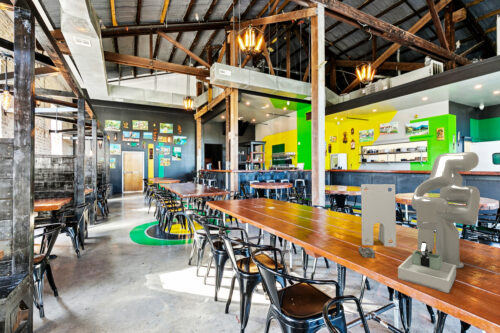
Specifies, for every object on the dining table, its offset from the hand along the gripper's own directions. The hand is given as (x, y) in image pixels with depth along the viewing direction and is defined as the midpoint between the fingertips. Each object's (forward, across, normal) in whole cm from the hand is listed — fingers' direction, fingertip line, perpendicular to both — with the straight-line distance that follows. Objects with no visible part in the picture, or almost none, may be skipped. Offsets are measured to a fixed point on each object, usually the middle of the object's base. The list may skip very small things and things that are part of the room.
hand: (426, 263), depth 109 cm
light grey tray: (+6, 0, 0) cm, 6 cm away
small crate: (+1, 0, 0) cm, 1 cm away
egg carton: (+7, -10, -30) cm, 33 cm away
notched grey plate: (+6, -38, -35) cm, 52 cm away
